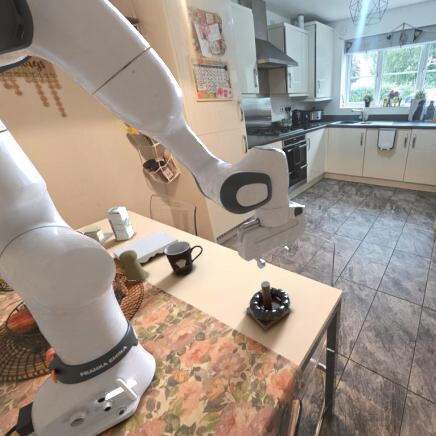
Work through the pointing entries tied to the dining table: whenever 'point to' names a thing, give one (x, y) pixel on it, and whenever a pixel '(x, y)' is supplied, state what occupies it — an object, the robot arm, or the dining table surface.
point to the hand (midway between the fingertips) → (275, 259)
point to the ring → (272, 313)
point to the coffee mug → (181, 257)
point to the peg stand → (267, 305)
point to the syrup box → (120, 223)
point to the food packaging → (148, 246)
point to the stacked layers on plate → (95, 233)
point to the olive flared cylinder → (132, 267)
